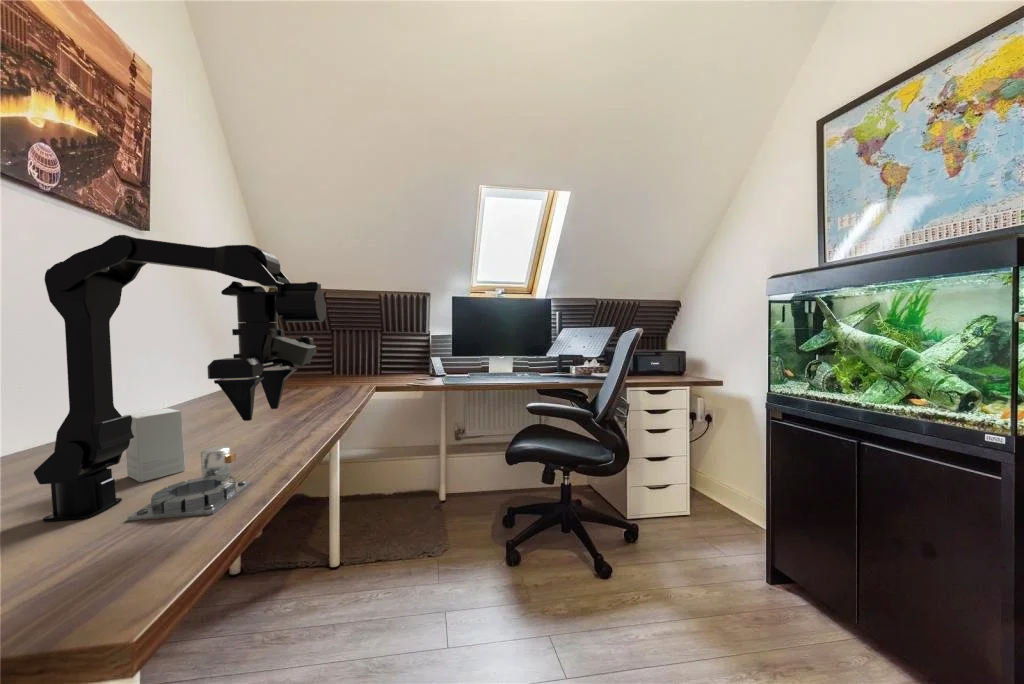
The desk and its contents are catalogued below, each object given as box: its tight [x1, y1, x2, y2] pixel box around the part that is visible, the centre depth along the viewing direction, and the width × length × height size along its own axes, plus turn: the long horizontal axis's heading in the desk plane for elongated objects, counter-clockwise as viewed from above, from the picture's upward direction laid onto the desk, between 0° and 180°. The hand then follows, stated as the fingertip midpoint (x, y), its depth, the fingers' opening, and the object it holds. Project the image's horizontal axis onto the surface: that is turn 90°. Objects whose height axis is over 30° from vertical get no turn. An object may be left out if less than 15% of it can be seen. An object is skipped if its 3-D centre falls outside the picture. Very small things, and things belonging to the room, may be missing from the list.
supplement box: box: [123, 407, 186, 483], centre depth 81 cm, size 7×7×13 cm
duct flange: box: [126, 475, 253, 521], centre depth 68 cm, size 12×12×2 cm
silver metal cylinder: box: [200, 445, 237, 478], centre depth 77 cm, size 5×4×6 cm
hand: (262, 414), depth 68 cm, fingers open, 9 cm apart
